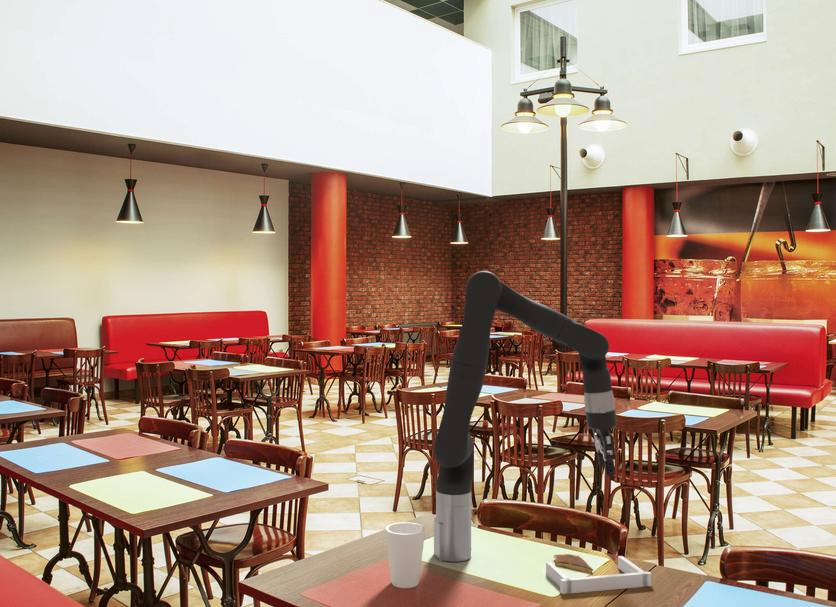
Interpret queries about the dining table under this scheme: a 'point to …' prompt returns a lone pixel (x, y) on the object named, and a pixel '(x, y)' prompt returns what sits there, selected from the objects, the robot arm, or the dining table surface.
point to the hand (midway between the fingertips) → (607, 470)
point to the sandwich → (572, 562)
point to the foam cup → (405, 552)
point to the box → (601, 579)
